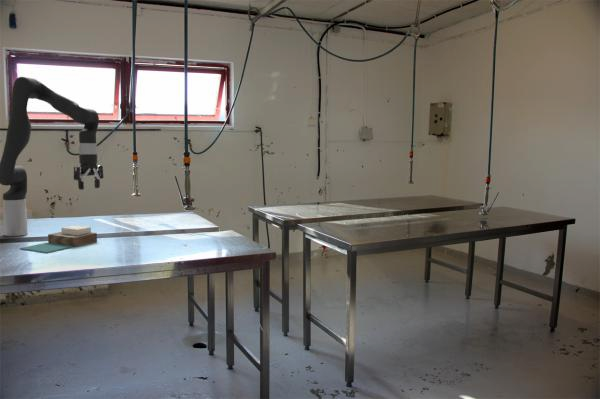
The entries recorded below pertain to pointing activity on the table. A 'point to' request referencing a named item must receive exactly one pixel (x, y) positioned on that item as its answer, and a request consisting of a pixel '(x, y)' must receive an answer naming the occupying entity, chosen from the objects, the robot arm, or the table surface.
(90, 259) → the table surface
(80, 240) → the deck
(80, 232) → the cream rectangular tile
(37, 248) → the mat
